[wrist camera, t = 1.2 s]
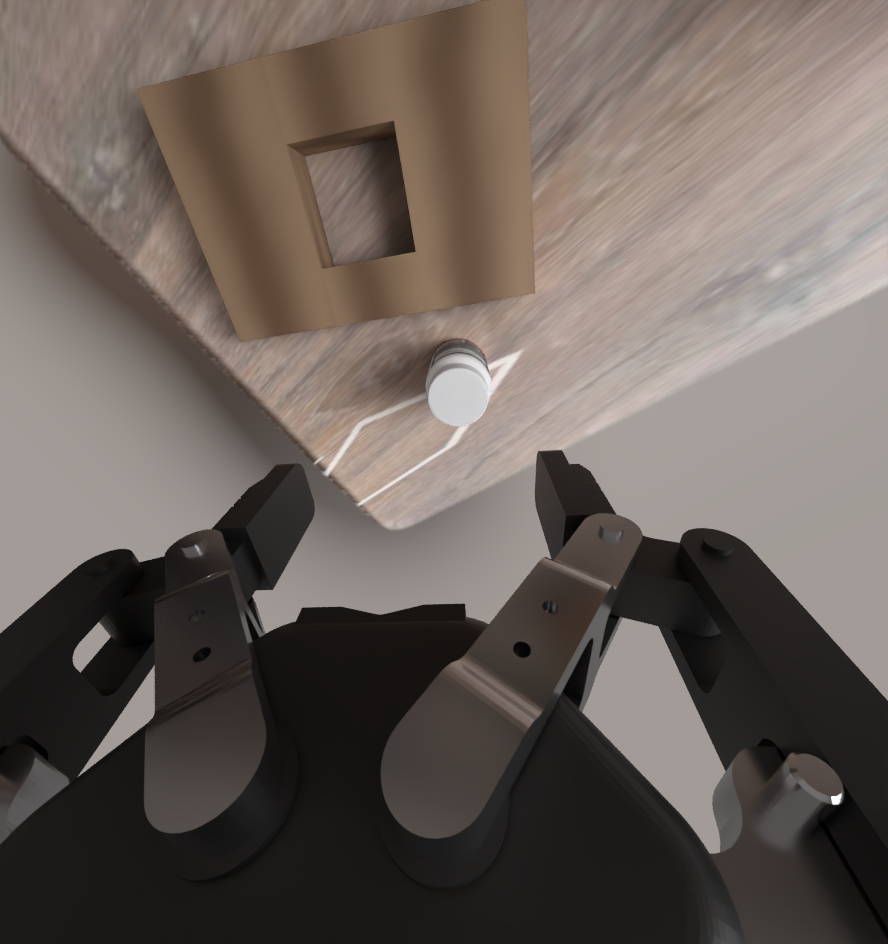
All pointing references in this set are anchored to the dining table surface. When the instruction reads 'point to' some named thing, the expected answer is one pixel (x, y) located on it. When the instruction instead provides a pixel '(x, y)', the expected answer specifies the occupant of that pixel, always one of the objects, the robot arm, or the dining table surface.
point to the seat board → (351, 123)
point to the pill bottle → (458, 383)
